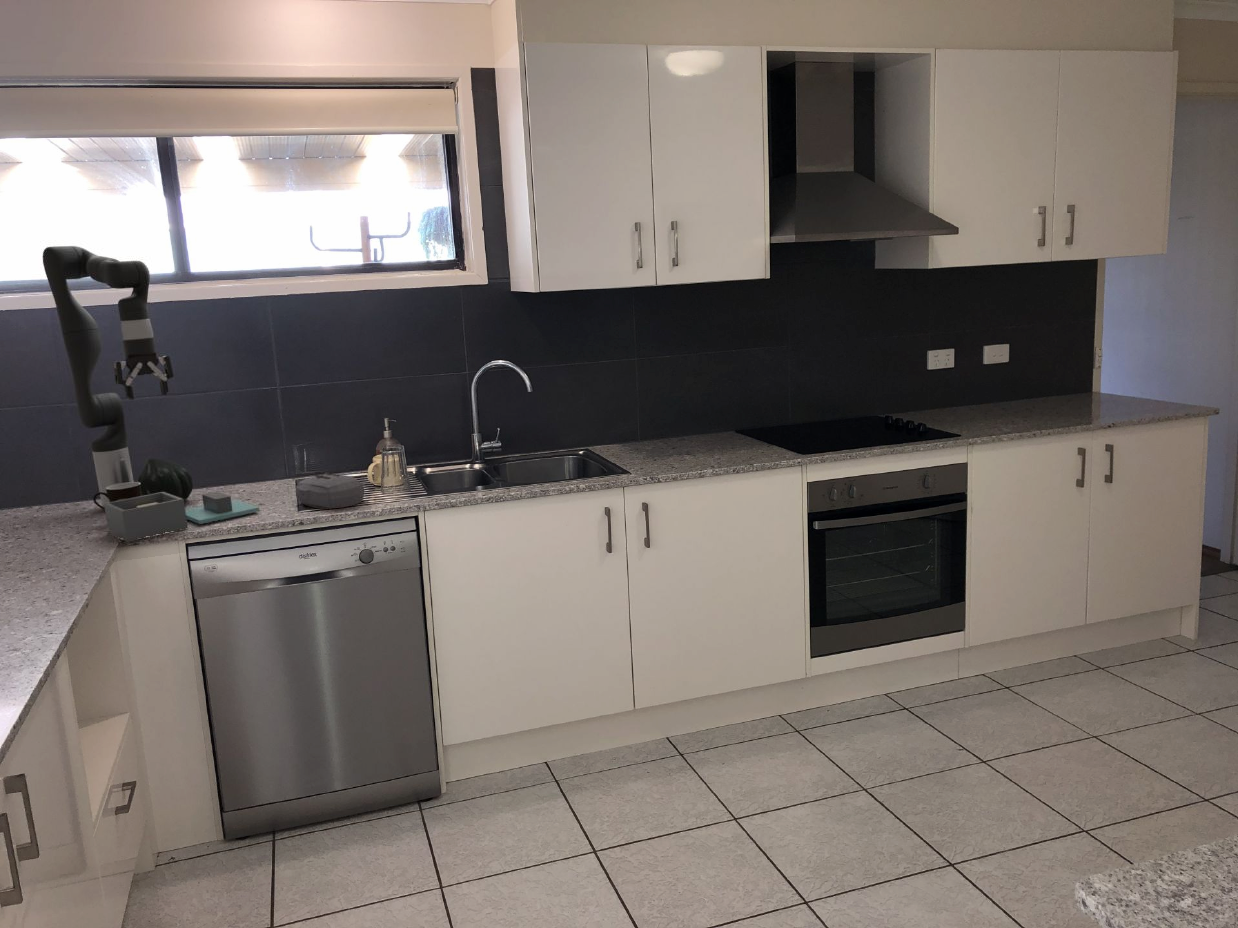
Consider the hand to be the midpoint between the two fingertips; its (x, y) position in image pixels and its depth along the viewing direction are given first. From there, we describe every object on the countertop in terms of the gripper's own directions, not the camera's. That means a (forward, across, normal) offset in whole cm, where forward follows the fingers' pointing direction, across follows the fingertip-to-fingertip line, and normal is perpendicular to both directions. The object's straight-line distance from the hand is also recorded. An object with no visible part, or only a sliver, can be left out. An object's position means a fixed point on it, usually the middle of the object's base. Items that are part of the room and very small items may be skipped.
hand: (147, 397), depth 268 cm
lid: (+32, -9, +14) cm, 37 cm away
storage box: (+33, +10, +14) cm, 37 cm away
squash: (+33, -5, -14) cm, 37 cm away
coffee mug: (+33, +10, -4) cm, 35 cm away
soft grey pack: (+34, -35, +30) cm, 57 cm away
